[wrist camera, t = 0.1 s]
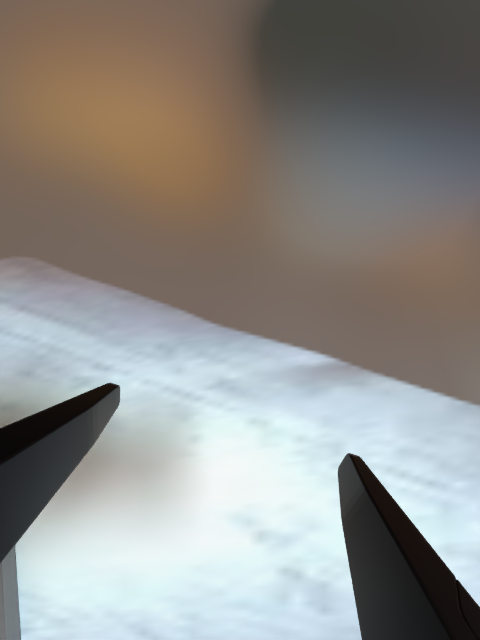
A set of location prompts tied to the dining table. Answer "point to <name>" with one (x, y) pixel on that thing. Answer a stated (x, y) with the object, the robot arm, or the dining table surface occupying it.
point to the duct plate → (9, 599)
